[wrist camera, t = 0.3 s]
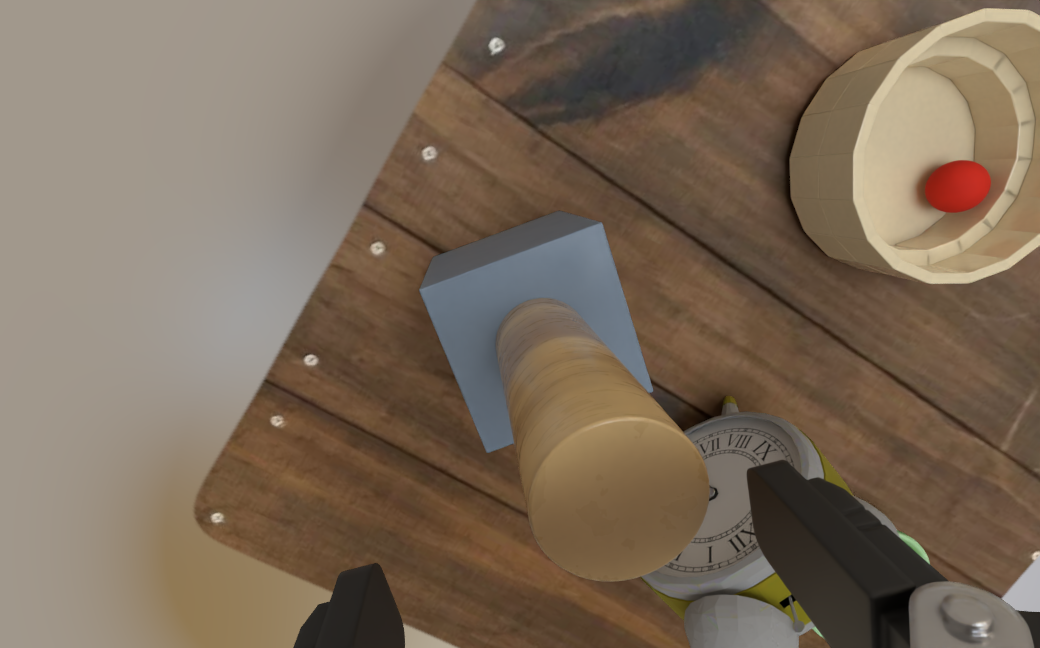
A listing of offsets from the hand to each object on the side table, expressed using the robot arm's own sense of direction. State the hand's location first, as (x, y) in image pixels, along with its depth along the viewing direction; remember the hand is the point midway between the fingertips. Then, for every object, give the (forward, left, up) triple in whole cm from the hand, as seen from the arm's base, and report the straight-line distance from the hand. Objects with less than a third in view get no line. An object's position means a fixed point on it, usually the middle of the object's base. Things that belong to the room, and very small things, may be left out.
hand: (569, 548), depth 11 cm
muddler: (0, +1, -12) cm, 12 cm away
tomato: (+2, +28, -20) cm, 34 cm away
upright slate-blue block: (0, +1, -22) cm, 22 cm away
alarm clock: (+15, +8, -22) cm, 28 cm away
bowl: (0, +25, -22) cm, 34 cm away
